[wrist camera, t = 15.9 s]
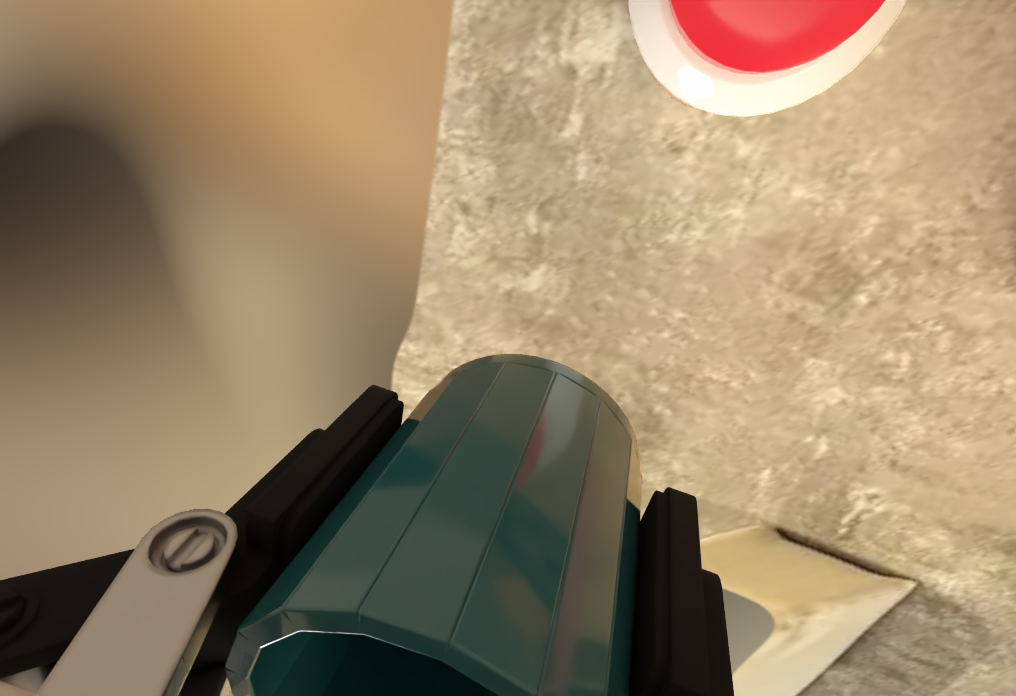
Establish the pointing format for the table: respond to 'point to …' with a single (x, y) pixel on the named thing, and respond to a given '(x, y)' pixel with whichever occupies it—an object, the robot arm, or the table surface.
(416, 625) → the cup
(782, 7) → the pill bottle
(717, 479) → the table surface
